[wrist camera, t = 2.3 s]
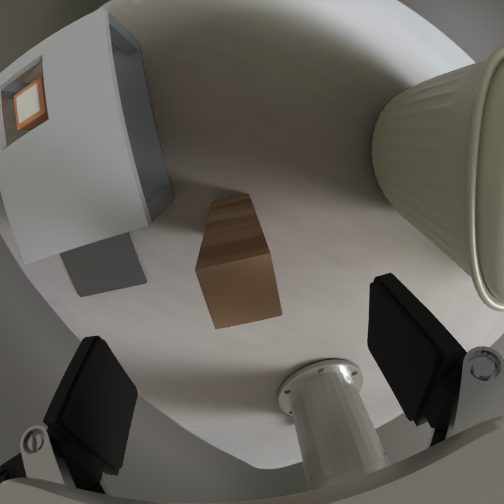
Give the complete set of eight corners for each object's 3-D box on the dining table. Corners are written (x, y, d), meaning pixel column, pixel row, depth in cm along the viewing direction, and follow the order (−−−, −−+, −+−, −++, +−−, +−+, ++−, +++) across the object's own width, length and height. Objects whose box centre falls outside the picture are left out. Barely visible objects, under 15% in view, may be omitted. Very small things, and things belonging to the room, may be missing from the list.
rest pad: (146, 281, 28) (145, 283, 27) (81, 295, 28) (80, 297, 27) (117, 198, 24) (116, 199, 24) (51, 223, 24) (50, 224, 24)
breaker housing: (174, 198, 25) (148, 226, 17) (72, 230, 25) (25, 265, 17) (139, 42, 19) (103, 7, 10) (40, 91, 19) (-14, 86, 11)
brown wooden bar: (256, 228, 27) (282, 315, 14) (221, 236, 27) (215, 329, 14) (249, 194, 25) (270, 252, 12) (212, 202, 25) (195, 269, 12)
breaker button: (71, 114, 18) (44, 112, 14) (44, 129, 18) (16, 130, 14) (66, 82, 16) (39, 76, 13) (39, 98, 16) (12, 96, 13)
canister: (305, 113, 23) (509, 71, 3) (429, 54, 20) (582, 33, 1) (383, 263, 29) (509, 396, 10) (480, 187, 26) (606, 246, 7)
